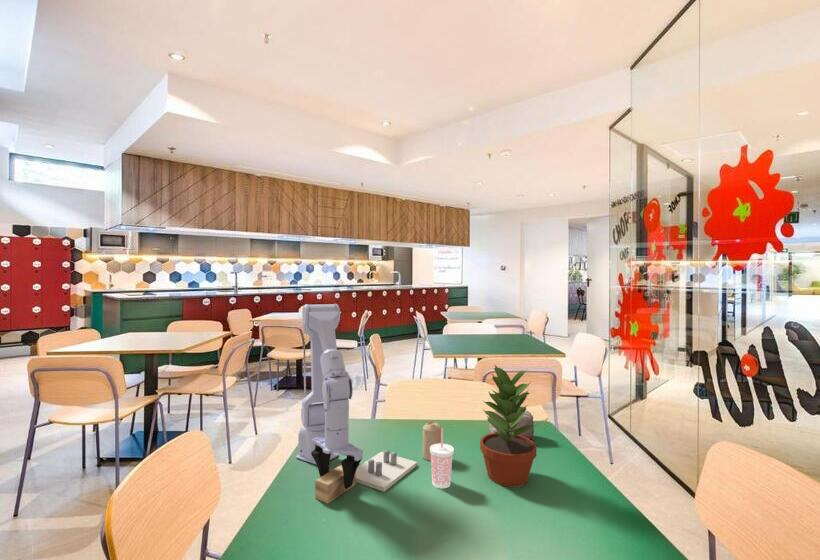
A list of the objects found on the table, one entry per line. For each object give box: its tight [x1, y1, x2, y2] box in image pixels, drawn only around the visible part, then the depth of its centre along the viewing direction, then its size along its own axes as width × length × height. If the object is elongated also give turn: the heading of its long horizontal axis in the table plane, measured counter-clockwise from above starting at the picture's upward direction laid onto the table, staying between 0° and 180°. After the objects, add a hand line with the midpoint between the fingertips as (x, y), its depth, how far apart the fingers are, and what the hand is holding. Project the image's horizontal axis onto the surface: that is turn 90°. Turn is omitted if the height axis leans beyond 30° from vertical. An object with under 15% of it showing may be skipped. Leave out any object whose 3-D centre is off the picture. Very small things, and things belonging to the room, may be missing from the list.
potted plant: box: [479, 364, 537, 488], centre depth 106 cm, size 15×15×30 cm
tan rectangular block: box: [314, 464, 357, 504], centre depth 97 cm, size 10×4×4 cm, turn 149°
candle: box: [422, 420, 443, 462], centre depth 116 cm, size 6×6×10 cm
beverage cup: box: [430, 427, 455, 489], centre depth 102 cm, size 6×6×14 cm
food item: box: [488, 410, 535, 440], centre depth 132 cm, size 14×8×10 cm, turn 93°
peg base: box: [356, 449, 418, 492], centre depth 107 cm, size 12×16×4 cm
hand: (336, 482), depth 97 cm, fingers open, 7 cm apart
